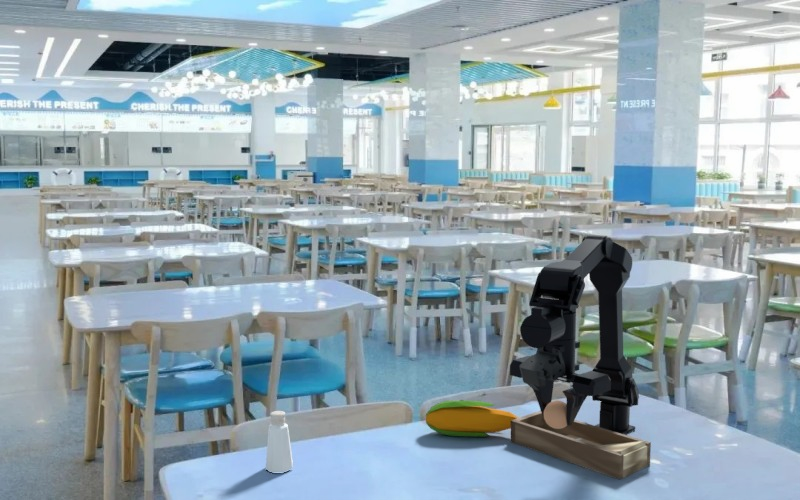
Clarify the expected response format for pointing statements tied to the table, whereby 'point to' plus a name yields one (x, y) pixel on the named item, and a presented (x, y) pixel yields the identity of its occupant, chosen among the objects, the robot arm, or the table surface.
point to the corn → (467, 418)
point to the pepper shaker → (278, 444)
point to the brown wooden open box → (583, 445)
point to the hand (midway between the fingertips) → (557, 421)
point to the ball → (556, 414)
